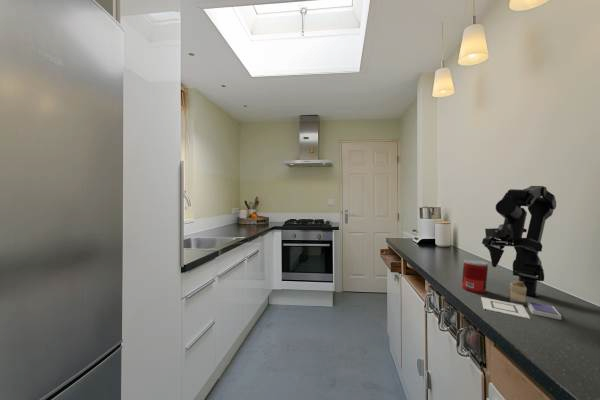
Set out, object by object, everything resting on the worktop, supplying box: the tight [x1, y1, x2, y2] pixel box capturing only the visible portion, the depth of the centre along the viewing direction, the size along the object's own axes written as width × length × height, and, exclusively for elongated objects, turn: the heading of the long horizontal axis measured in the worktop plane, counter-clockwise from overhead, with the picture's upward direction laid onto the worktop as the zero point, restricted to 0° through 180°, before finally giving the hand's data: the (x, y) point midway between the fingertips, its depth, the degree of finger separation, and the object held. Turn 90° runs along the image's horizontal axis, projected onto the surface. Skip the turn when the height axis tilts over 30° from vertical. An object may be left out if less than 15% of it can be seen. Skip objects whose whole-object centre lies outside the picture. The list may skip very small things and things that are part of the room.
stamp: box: [507, 279, 527, 306], centre depth 102 cm, size 4×4×7 cm
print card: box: [480, 296, 531, 320], centre depth 96 cm, size 12×12×1 cm
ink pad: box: [526, 300, 562, 321], centre depth 94 cm, size 9×7×1 cm
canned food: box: [461, 259, 489, 294], centre depth 113 cm, size 8×8×11 cm
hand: (504, 268), depth 97 cm, fingers open, 9 cm apart
